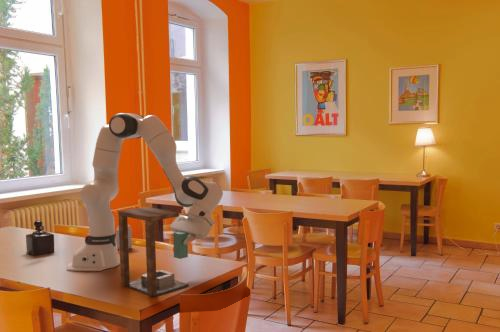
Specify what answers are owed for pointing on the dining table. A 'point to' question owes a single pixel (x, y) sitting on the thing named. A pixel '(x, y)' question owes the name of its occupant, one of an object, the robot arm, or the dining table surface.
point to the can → (128, 238)
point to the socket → (158, 283)
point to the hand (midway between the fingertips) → (179, 243)
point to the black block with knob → (39, 241)
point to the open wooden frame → (150, 217)
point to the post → (180, 245)
